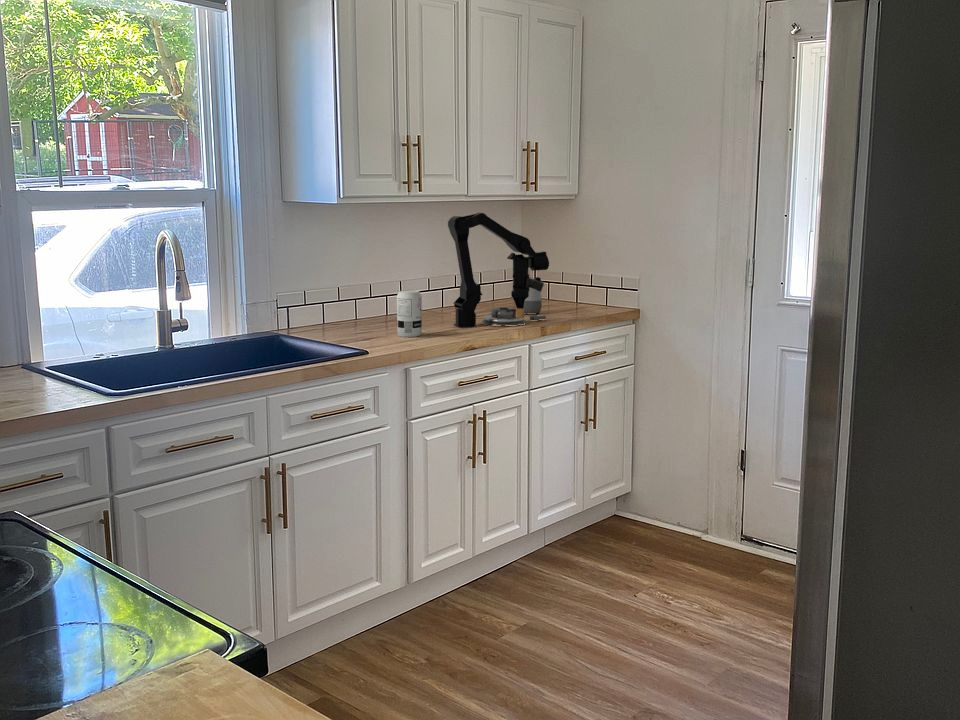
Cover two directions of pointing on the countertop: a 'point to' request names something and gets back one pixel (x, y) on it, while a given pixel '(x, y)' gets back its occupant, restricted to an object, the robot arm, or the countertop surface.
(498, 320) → the platter
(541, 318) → the grey bar
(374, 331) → the countertop surface
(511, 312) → the cover
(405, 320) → the supplement can
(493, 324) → the turntable base
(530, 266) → the robot arm
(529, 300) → the smart speaker
